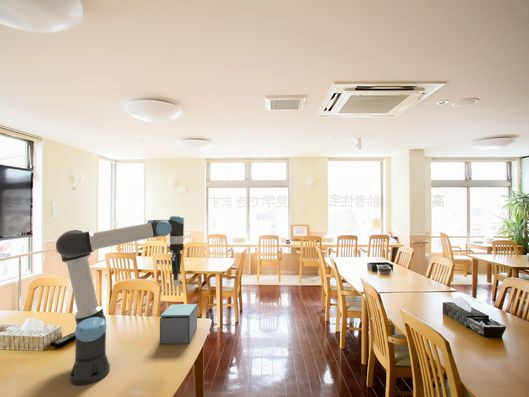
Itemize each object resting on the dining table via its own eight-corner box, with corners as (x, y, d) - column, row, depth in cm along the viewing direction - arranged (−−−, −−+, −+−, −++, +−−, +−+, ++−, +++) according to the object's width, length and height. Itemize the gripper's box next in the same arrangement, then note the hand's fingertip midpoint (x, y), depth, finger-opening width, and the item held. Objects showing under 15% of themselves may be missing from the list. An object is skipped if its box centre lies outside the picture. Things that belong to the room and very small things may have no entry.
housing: (189, 343, 154) (189, 318, 154) (159, 344, 153) (159, 318, 154) (196, 328, 174) (197, 305, 174) (170, 328, 173) (171, 305, 174)
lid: (189, 316, 155) (189, 314, 155) (160, 316, 155) (160, 315, 155) (196, 305, 174) (196, 304, 174) (171, 305, 174) (171, 304, 174)
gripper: (180, 244, 153) (179, 288, 152) (186, 241, 166) (185, 282, 165) (166, 244, 153) (165, 288, 152) (173, 241, 166) (172, 282, 165)
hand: (176, 285), depth 158 cm, fingers closed
